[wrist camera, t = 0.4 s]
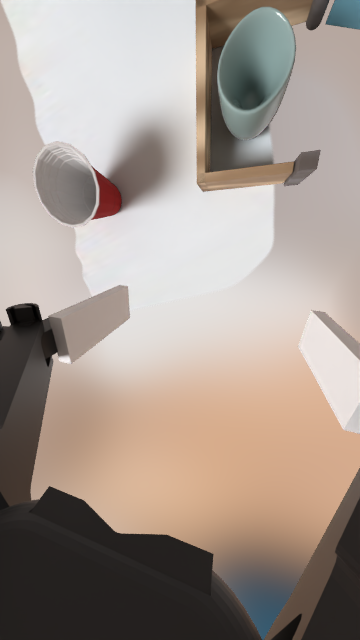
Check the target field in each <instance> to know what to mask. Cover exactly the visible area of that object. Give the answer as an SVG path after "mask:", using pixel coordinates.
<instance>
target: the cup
mask: <svg viewBox="0 0 360 640" xmlns="http://www.w3.org/2000/svg"><path fill="white" fill-rule="evenodd" d="M295 51H296V45H295V36H294V32H293V29H292V26H291V24H290V22H289V20H288V19H287V18H286V16H285V15H284V14H283V13H282V12H280V11H279V10H277V9H275V8H272V7H260V8H258V9H255V10H253V11H252V12H250V13H249V14H248V15H246V16H245V17H244V18H243V19H242V20H241V21H240V22H239V23H238V24H237V26H236V27H235V28H234V30H233V31H232V33H231V34H230V36H229V38H228V39H227V41H226V43H225V45H224V48H223V50H222V53H221V56H220V59H219V65H218V71H217V85H218V93H219V101H220V106H221V112H222V116H223V119H224V122H225V124H226V126H227V128H228V130H229V131H230V132H231V134H232V135H233V136H235V137H236V138H238V139H240V140H250V139H252V138H254V137H256V136H258V135H259V134H260V133H261V132H262V131H263V130H264V129H265V128H266V127H267V126H268V125H269V123H270V122H271V121H272V119H273V117H274V116H275V114H276V112H277V110H278V108H279V106H280V104H281V101H282V99H283V96H284V94H285V91H286V88H287V85H288V82H289V79H290V76H291V72H292V69H293V65H294V61H295Z"/></svg>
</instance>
